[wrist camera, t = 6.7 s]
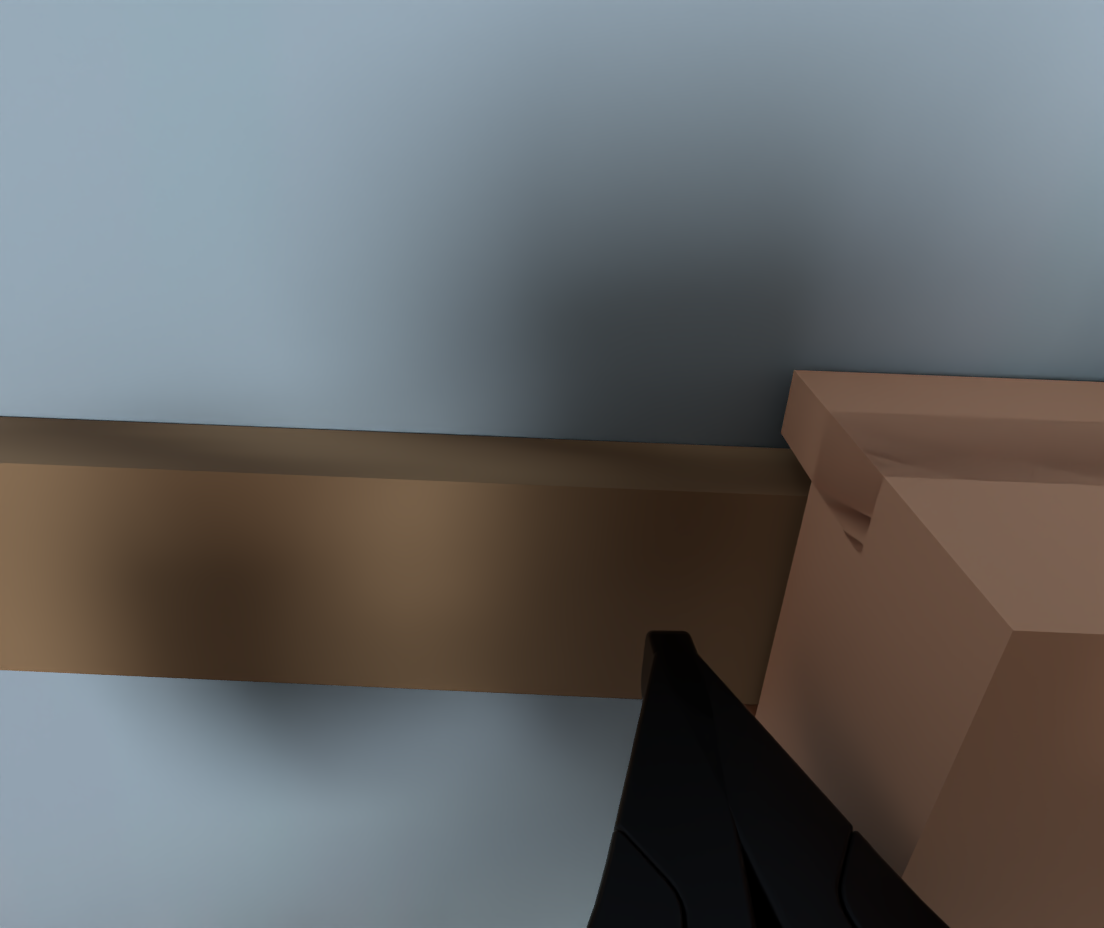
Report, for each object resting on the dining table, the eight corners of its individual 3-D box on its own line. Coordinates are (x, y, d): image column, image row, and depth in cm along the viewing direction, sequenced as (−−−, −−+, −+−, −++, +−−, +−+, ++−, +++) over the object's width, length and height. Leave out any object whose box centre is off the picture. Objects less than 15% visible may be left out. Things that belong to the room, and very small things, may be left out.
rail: (83, 670, 13) (-161, 947, 9) (-54, 324, 10) (-545, 490, 6) (1101, 717, 13) (1370, 1026, 9) (1299, 376, 10) (1893, 593, 5)
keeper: (723, 707, 13) (813, 1070, 8) (793, 370, 10) (1012, 630, 5) (987, 720, 13) (1239, 1093, 8) (1145, 383, 10) (1727, 662, 5)
